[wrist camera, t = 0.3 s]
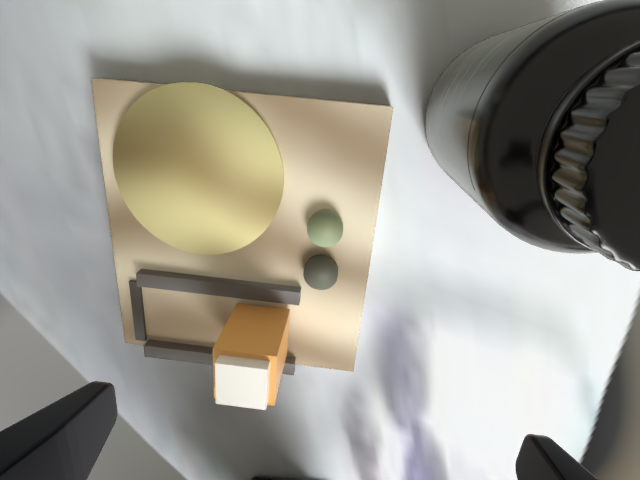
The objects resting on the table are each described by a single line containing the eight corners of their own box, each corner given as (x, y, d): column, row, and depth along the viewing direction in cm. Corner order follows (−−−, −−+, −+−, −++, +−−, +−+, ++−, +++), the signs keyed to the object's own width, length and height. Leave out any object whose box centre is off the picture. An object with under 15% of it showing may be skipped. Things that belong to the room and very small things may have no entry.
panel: (352, 362, 24) (352, 382, 23) (135, 335, 25) (120, 353, 23) (391, 100, 18) (395, 101, 17) (105, 72, 19) (81, 71, 17)
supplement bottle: (606, 103, 18) (1035, 137, 7) (492, 213, 20) (665, 374, 9) (502, -2, 16) (811, -179, 5) (393, 127, 19) (451, 191, 8)
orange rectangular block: (287, 352, 22) (271, 415, 18) (236, 346, 23) (209, 407, 18) (290, 309, 21) (274, 365, 17) (236, 302, 21) (208, 356, 17)
